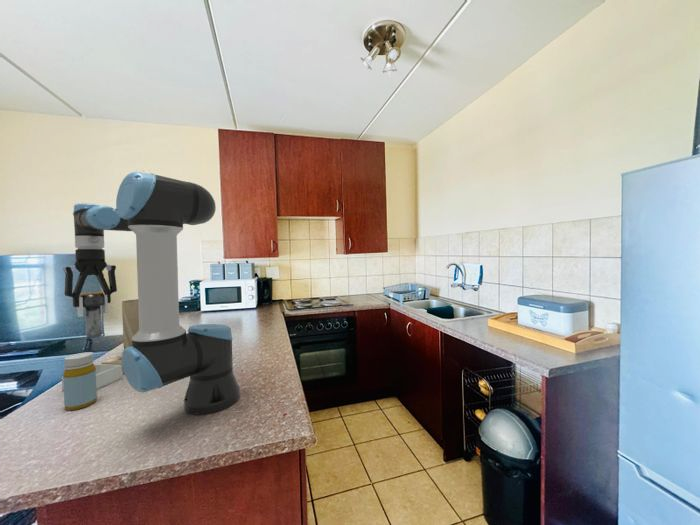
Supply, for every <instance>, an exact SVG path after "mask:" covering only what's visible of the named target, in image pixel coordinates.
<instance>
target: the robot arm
mask: <svg viewBox="0 0 700 525" xmlns="http://www.w3.org/2000/svg"><path fill="white" fill-rule="evenodd" d="M115 199H116V200H115V208H113V207H112V206H110V205H100V204H96V203H85V202H84V203H83V202H81V203H76V204H74V205H73V212H72V215H73V224H74V226H73V227H74V248H76V249H75V263H74V264H73V265H70V266H64V267H63V268H62V269H63V272H64V274H65V277H64V280H65V281H64V282H65V283H64V296H65V297H69V298H72V306H73V308H76V312H77V313H76V314H77V317H79V318H81V317H84V307H83V297H80V295H81V292H82V291H83V287H84V284H85V282H86V279H87V278H88V276H95V277H96V279H97V280H98V282H99V285H100V288H101V290H102V292H103V293H104V305H101V314H102V313H103V314H108V313H109V304H111V303H112V302H111V301H112V300H111V299H112V298H111V297H112V296H111V295H112V293H116V292H118V288H117V281H116V274H115V273H116V272H115V271H116V269H117V266H116V265H115V264H114V265H113V264H112V265H111V264H108V263H107V262H106V250H104V248H105V231H115V232H133V233H134V234H135V239H136V240H135V241H136V243H135V244H136V245H135V246H136V247H135V248H136V269H137V270H136V271H137V272H136V273H137V275H136V276H137V299H138V309H139V331H138V332H137V333H136V334H135V335H134V336H133V337H132V346H131V347H127V348H126V349H124V348H123V350H122V354H121V355H122V357H121V360H122V367H123V370H124V373H125V374H124V376H125V378H126V380H127V382H128V384H129V385H130V387H131V388H132V389H133V390H135V391H137V392H139V393H147V392H150V391H155V390H157V389H162V388H163V387H165V386H168V385H170V384H173V383H175V382H178V381H181V380H184V379H186V378H188V377H189V382H188V385H187V389H186V392H185V396H184V399H183V409H184V411H185V412H186V413H187V414H191V415H197V416H198V415H199V416H200V415H207V414H212V413H217V412H221V411H222V410H225V409H227V408H229V407H231V406H232V405H234V404H235V403H236V402H238V400H239V399H240V392H241V391H240V386H239V385H238V382H237V379H236V376H235V374H234V368H233V364H234V362H233V359H234V358H233V334H232V329H231V327H230V326H228V325H225V324H220V323H219V324H217V323H207V324H206V323H205V324H204V323H202V324H193V325H191V326H189V327H188V328H187V330H186V328H184V327H183V326H181V325H180V307H179V306H180V304H179V303H180V302H179V300H180V299H179V279H178V278H179V274H178V273H179V272H178V271H179V270H178V269H179V268H178V235H179V234H180V233H181V232H182V231H183V230H184V225H190V226H196V225H202V224H206V223H207V222H209V221H210V220H212V218H213V217H214V216H215V213H216V206H217V205H216V201H215V199H214V197H213V195H212V194H211V192H210V191H208V190H207V189H206V188H205V187H203V186H201V185H200V184H197V183H194V182H190V181H183V180H180V179H177V178H172V177H167V176H163V175H158V174H155V173H148V172H147V173H146V172H141V171H132V172H130V173H128V174H127V175H126V176H125V177H124V178H123V179H122V181H121V183H120V185H119V187H118V190H117V193H116V198H115ZM75 269H76V270H77V271H78V272H79V274H78V279H77V282H76V284H75V286H74V289H73V285H74V284H73V283H74V282H73V281H74V272H75ZM105 269H106V270H107V276H108V282H107V281H106V278H105V275H104V272H103V271H104V270H105ZM108 283H109V285H108Z"/></svg>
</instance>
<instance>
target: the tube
mask: <svg viewBox="0 0 700 525" xmlns="http://www.w3.org/2000/svg"><path fill="white" fill-rule="evenodd" d="M121 314H122V316H121V318H122V341H123V350H124V349H126V348H127V347H131V346H132V337H133V336H134V335H135V334H136V333H137V332H138V331H139V309H138V298H136V299H126V300H123V301H122V302H121Z"/></svg>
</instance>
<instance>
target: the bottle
mask: <svg viewBox="0 0 700 525" xmlns="http://www.w3.org/2000/svg"><path fill="white" fill-rule="evenodd" d="M94 365H95V364H94V352H92V351H87V352H86V351H85V352H80V353H74V354H71V355H68V356H65V357H64V370H63V374H62V376H63V384H64V391H63V403H64V408H65V410H68V411H77V410H81V409H84V408H87V407H89V406H92V405H93V404H94V403H95V402H96V401H97V400H98V399H97V398H98V396H97V395H98V394H97V391H98V390H97V389H96V367H95V366H94Z"/></svg>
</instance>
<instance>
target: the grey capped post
mask: <svg viewBox="0 0 700 525" xmlns="http://www.w3.org/2000/svg"><path fill="white" fill-rule="evenodd" d="M104 295H105V294H104V292H103V291H94V292H93V291H92V292H91V291H90V292H82V293H80V296H79V297H83V308H84V315H85V316H84V317H85V319H84V320H85V338H86V339H94V338H99V337H102V333H103V332H102V307H101V306H102V305H104Z"/></svg>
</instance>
